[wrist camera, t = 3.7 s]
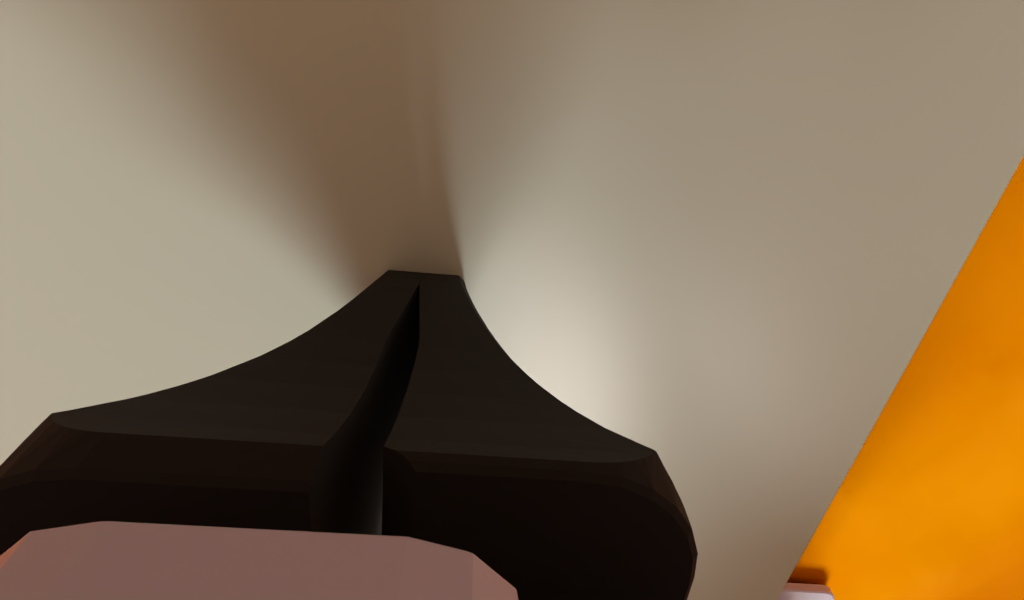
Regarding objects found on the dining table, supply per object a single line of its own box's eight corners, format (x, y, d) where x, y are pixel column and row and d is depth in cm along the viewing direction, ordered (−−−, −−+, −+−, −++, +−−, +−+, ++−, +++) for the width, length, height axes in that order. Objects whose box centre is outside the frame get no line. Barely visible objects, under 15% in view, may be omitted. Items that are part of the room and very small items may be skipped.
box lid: (749, 616, 18) (756, 637, 18) (63, 581, 17) (50, 603, 16) (1141, -128, 9) (1180, -128, 8) (-338, -326, 8) (-397, -339, 7)
